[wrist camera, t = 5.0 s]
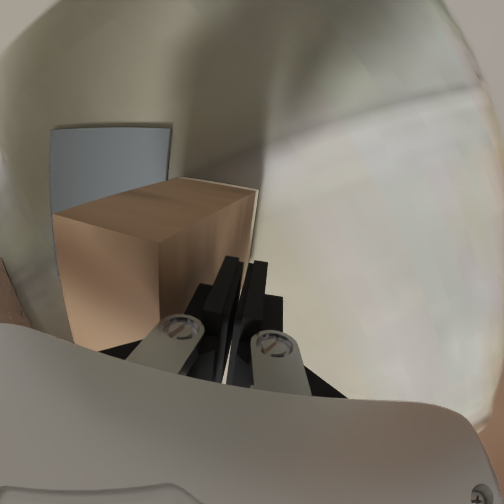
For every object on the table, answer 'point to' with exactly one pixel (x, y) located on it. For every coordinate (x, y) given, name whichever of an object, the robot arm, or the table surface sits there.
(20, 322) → the brick
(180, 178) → the block
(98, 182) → the mat
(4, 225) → the table surface
